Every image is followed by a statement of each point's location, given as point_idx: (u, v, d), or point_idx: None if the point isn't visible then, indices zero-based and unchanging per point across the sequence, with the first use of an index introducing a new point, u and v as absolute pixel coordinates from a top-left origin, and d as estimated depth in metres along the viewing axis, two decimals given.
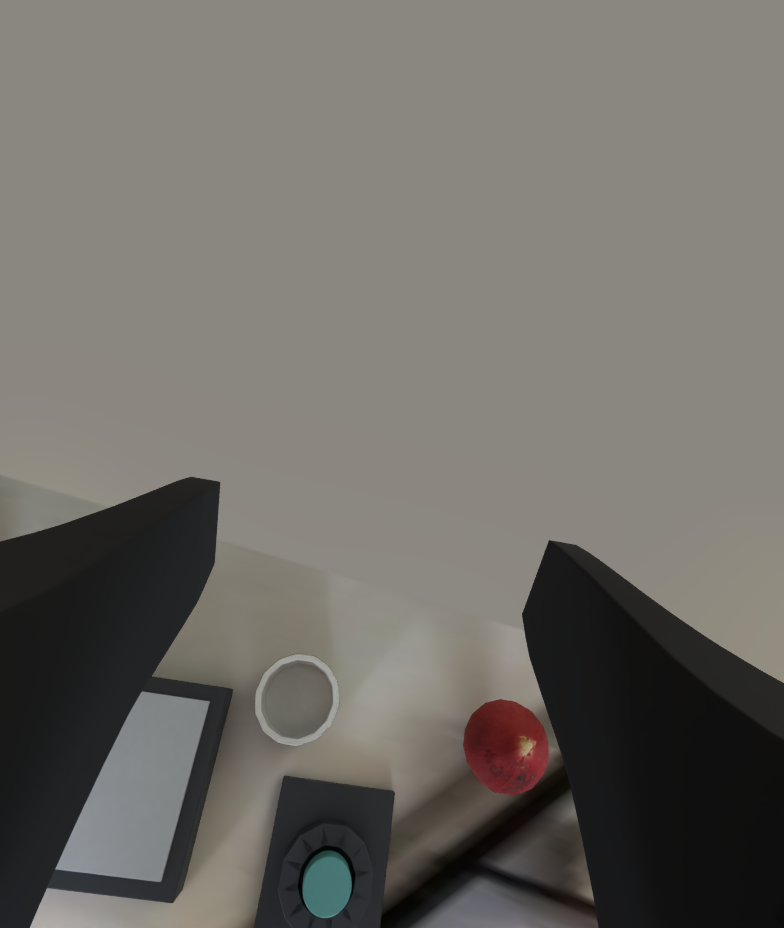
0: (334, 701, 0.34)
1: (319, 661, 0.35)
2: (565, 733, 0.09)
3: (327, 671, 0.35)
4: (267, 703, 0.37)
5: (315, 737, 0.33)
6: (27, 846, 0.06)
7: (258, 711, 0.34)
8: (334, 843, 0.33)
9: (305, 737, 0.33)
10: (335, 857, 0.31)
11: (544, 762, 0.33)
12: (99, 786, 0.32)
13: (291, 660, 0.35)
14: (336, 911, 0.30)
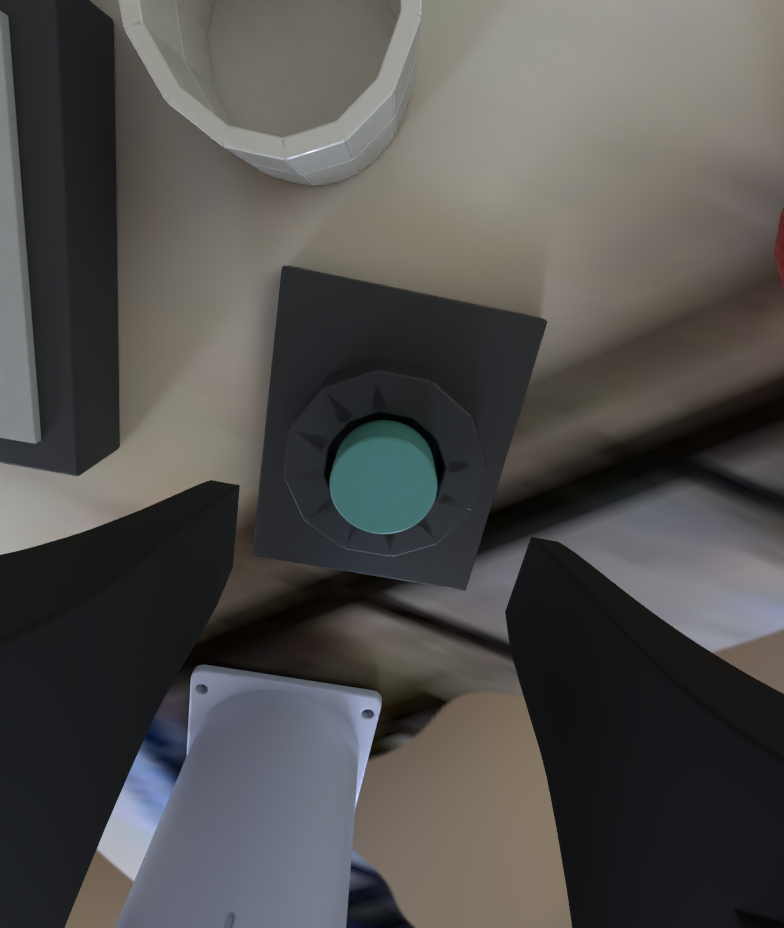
0: (405, 1, 0.09)
1: None
2: (544, 730, 0.09)
3: None
4: (215, 66, 0.13)
5: (340, 136, 0.10)
6: (63, 851, 0.06)
7: (132, 22, 0.09)
8: (401, 410, 0.14)
9: (307, 133, 0.10)
10: (402, 439, 0.13)
11: None
12: None
13: None
14: (402, 527, 0.14)
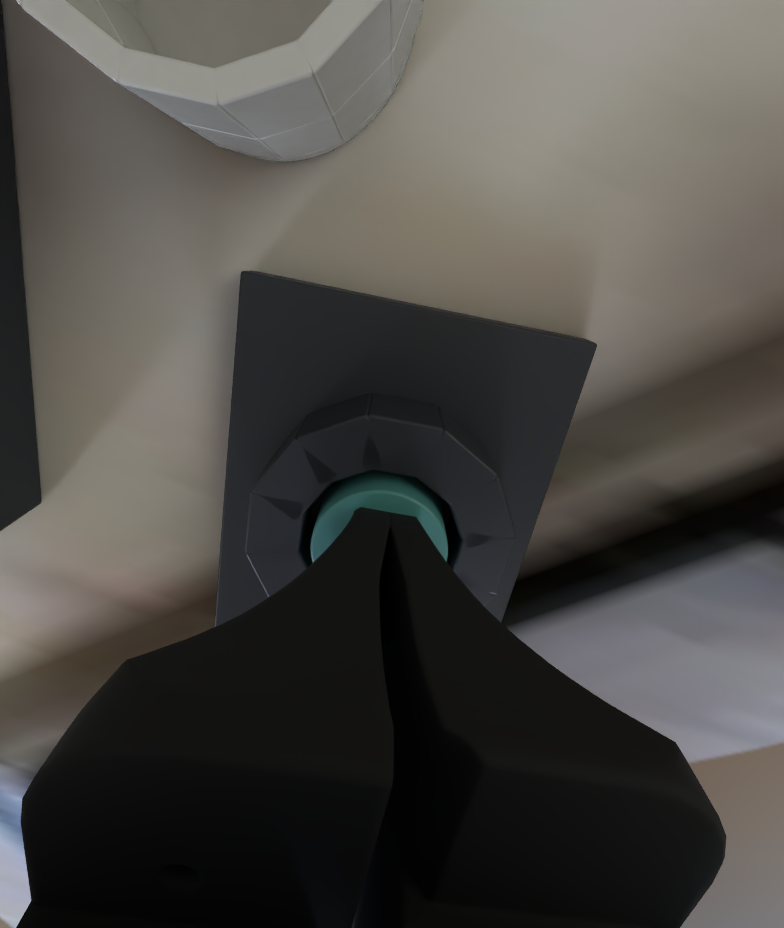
0: None
1: None
2: None
3: None
4: None
5: (305, 65, 0.06)
6: None
7: None
8: (402, 467, 0.10)
9: (252, 61, 0.06)
10: (403, 494, 0.10)
11: None
12: None
13: None
14: None
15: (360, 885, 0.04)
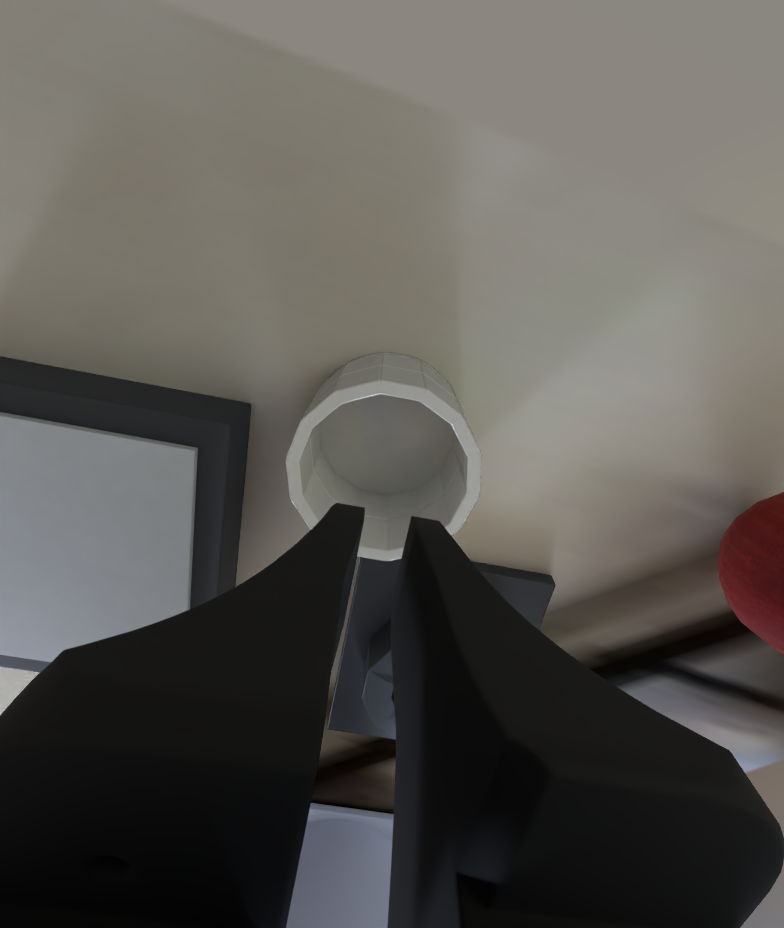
0: (469, 488, 0.15)
1: (437, 401, 0.14)
2: (398, 708, 0.09)
3: (457, 425, 0.14)
4: (323, 436, 0.18)
5: None
6: None
7: (296, 496, 0.15)
8: None
9: None
10: None
11: None
12: (37, 569, 0.18)
13: (365, 395, 0.14)
14: None
15: (293, 878, 0.04)
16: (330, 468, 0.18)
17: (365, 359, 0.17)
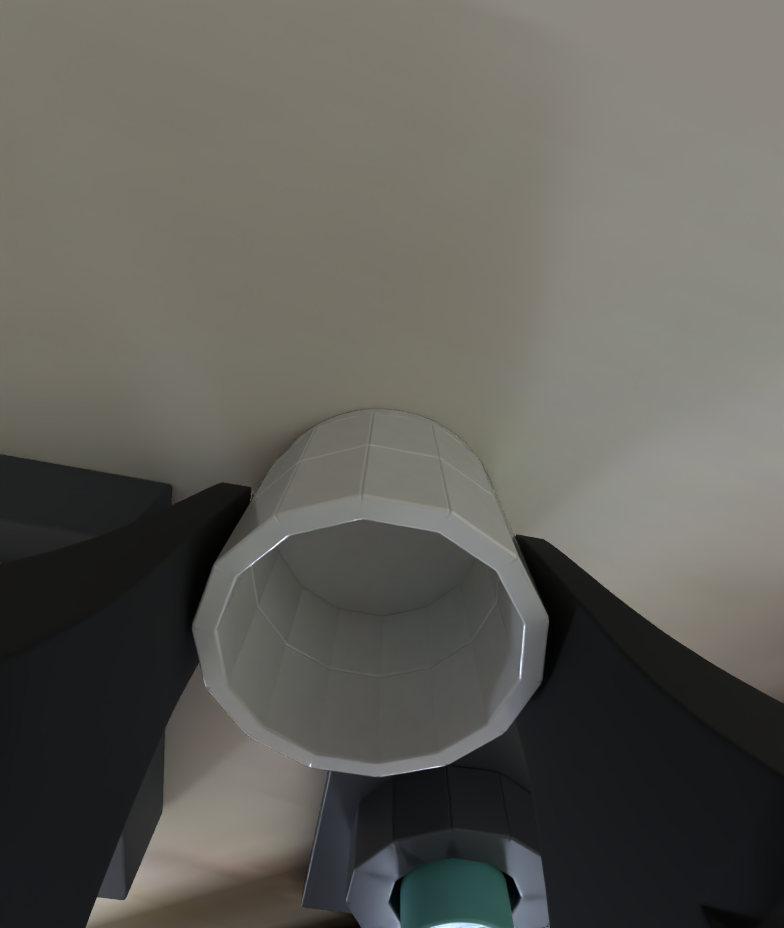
0: (525, 672, 0.08)
1: (472, 533, 0.07)
2: (526, 727, 0.09)
3: (507, 573, 0.07)
4: None
5: (442, 762, 0.09)
6: (84, 854, 0.06)
7: (216, 684, 0.08)
8: (476, 857, 0.13)
9: (405, 760, 0.09)
10: (482, 918, 0.12)
11: None
12: None
13: (335, 521, 0.07)
14: None
15: None
16: (292, 583, 0.12)
17: (343, 423, 0.10)
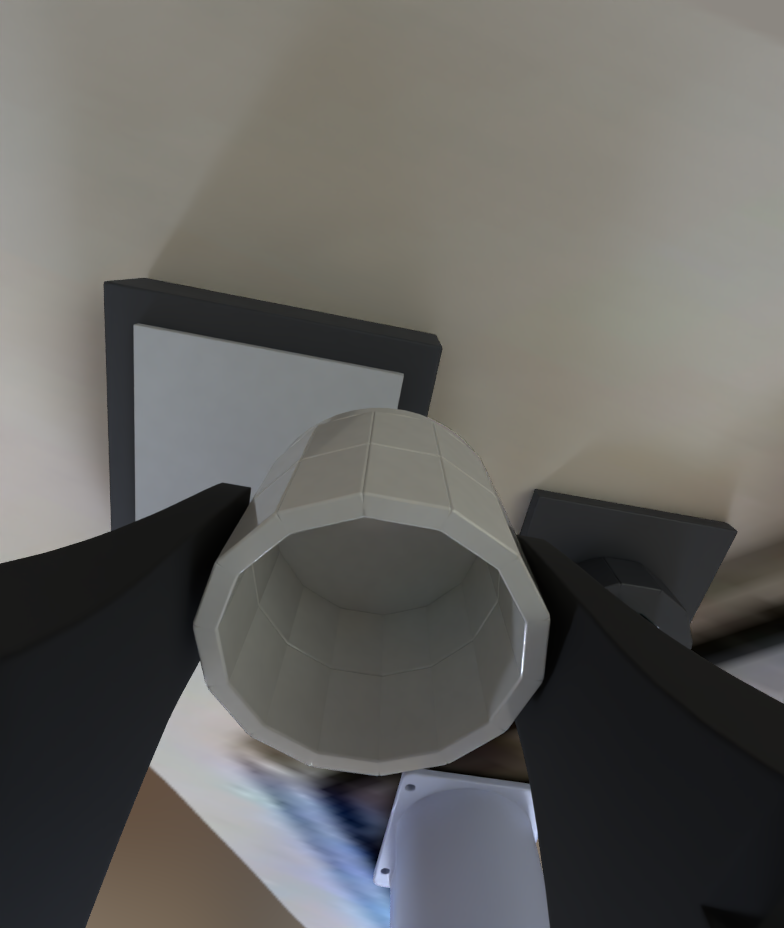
0: (526, 671, 0.08)
1: (473, 531, 0.07)
2: (526, 727, 0.09)
3: (508, 572, 0.07)
4: None
5: (443, 761, 0.09)
6: (84, 853, 0.06)
7: (217, 682, 0.08)
8: (634, 608, 0.19)
9: (406, 759, 0.09)
10: None
11: None
12: None
13: (336, 519, 0.07)
14: None
15: None
16: (293, 582, 0.12)
17: (344, 422, 0.10)
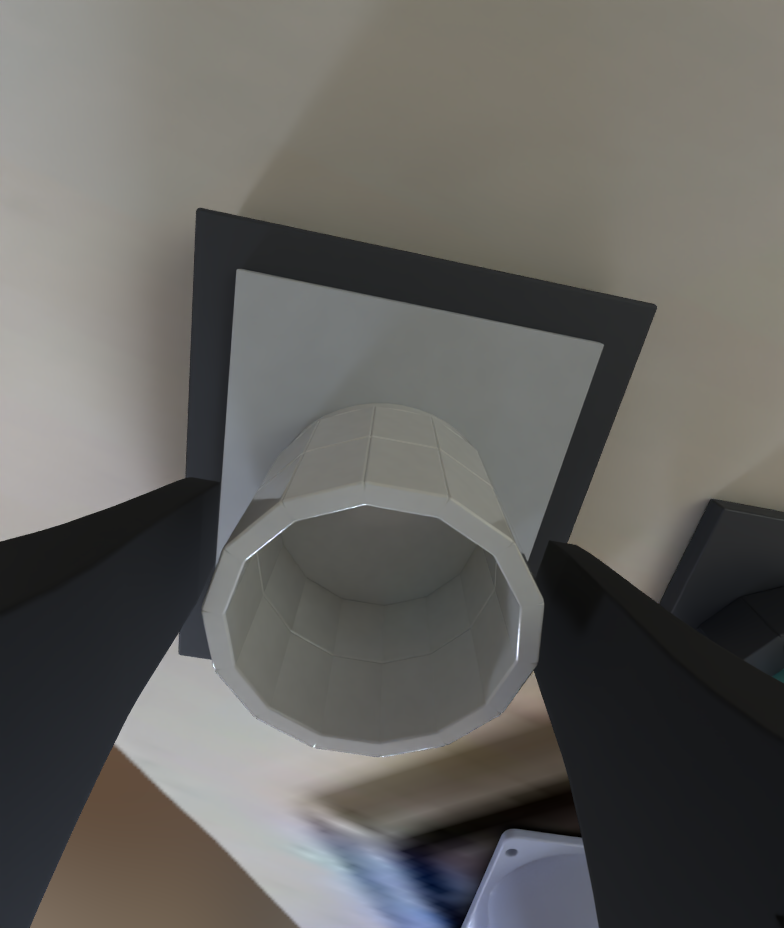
0: (522, 654, 0.08)
1: (470, 518, 0.07)
2: (565, 733, 0.09)
3: (504, 557, 0.08)
4: None
5: (441, 742, 0.09)
6: (27, 846, 0.06)
7: (223, 666, 0.09)
8: None
9: (406, 740, 0.09)
10: None
11: None
12: None
13: (339, 507, 0.07)
14: None
15: None
16: (296, 573, 0.12)
17: (346, 416, 0.11)
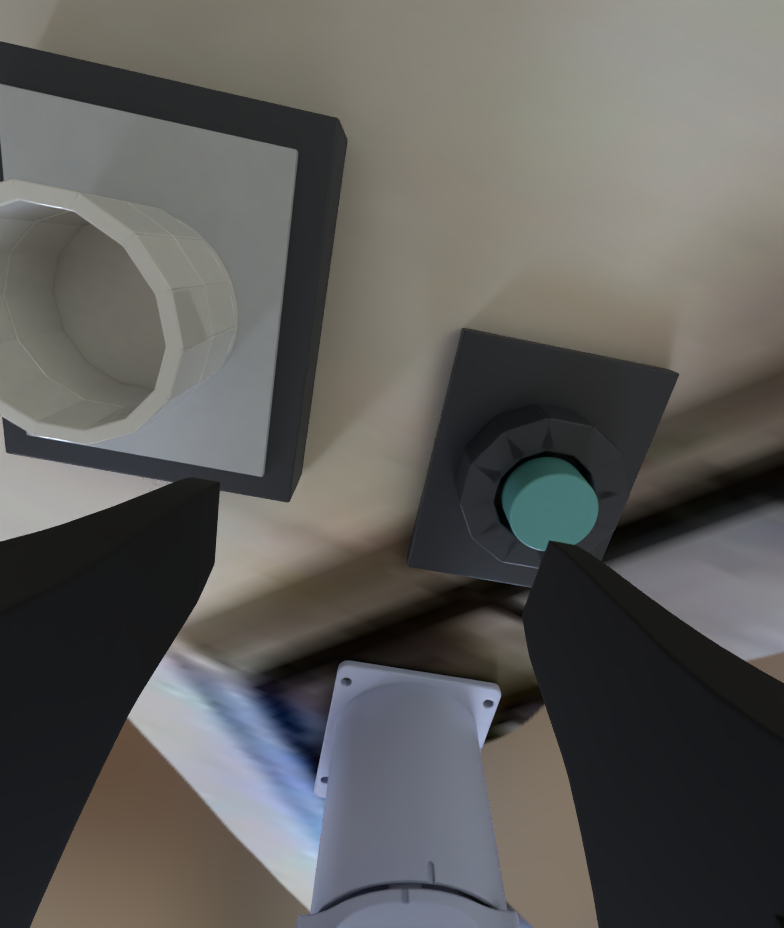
0: (168, 340, 0.11)
1: (96, 210, 0.10)
2: (565, 733, 0.09)
3: (130, 247, 0.11)
4: (62, 313, 0.15)
5: (130, 429, 0.12)
6: (27, 846, 0.06)
7: None
8: (565, 449, 0.17)
9: (103, 427, 0.12)
10: (574, 475, 0.17)
11: None
12: None
13: (0, 202, 0.10)
14: None
15: None
16: (73, 353, 0.15)
17: None
